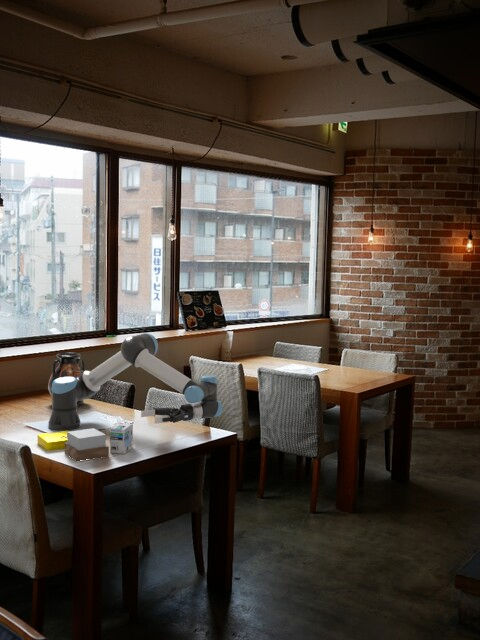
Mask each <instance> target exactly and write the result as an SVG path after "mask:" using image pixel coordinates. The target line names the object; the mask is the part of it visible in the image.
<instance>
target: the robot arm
mask: <svg viewBox="0 0 480 640" xmlns="http://www.w3.org/2000/svg"><path fill="white" fill-rule="evenodd" d="M158 350H159V342H158V340H157V338H156V337H155V335H153V334H152V333H148V332H147V333H145V332H144V333H140V334H136V335H131V336H127V337H126V338H124V340H123V341H122V343H121V345H120V350H119V351H118V352H116V353H115V354H114V355H112V356H111V357H109V358H108V359H106V360H105V361H104V362H102V363H100V364H99V365H97V366H96V367H95V368H93V369H92V370H84V373H82V374H81V375H79V376H78V377H76V378H74V377H61V378H57V379H55V380H54V381H53V383H52V396H51V414H50V417H49V419H48V422H47V423H48V426H47V427H48V428H49V429H51V430H55V431H70V430H75V429H78V428H80V427H81V420H80V419H81V418H80V416H79V414H78V413H79V412H78V410H77V409H78V406H77V402H78V401H81V400H83V401H84V400H87V399H90V398H92V397H94V396H95V395H96V394H97V393H98V392H99V391H100V389H101V386H102V385H104V384H105V383H106V382H108V381H110V379H113V378H114V377H116V376H117V375H118V374H120V373H121V372H123V371H124V370H126V369H127V368H129V367H130V366H134V367H135V368H141V369H143V370H144V371H146V372H147V373H149V374H151V375H152V376H154V377H155V378H157V379H159V380H160V381H162V382H163V383H164V384H166V385H168V386H169V387H170V388H172V389H174V390H175V391H178V392H179V393H180V394H182V395H183V396H184V398H185V400H186V402H188V403H183V404H182V405H180V407H179V408H177V407H176V408H175V407H154V408H152V409H147V410H141V411H140V415H141V416H140V417H141V418H146V417H154V424H155V425H156V424H164V423H169V422H170V423H172V424H173V423H174V424H175V423H179V422H181V421H184V422H189V421H197V420H200V419H208V418H209V419H210V418H217V417H219V416H221V415H222V413H223V406H222V405H223V403H222V402H221V401H220V400H218V377H217V376H216V375H209V374H208V375H206V374H205V375H202V376H201V378H200V382H199V383H197V382H196V381H194V380H193V379H191V378H189V377H188V376H186V375H185V374H184V373H182V372H180V371H178V370H177V369H175V368H173V367H172V366H171V365H169V364H167V362H164V361H163V360H161V359H159V358H157V357H156V356H155V355H156V354H157V353H158Z"/></svg>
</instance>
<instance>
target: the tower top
mask: <svg viewBox="0 0 480 640" xmlns="http://www.w3.org/2000/svg"><path fill="white" fill-rule="evenodd" d="M106 438H107V435H106V434H105V433H104V432H102V431H101V430H98V429H96V428H93V427H92V428H87V429H78V430H72V431H70V432H67V444H69V445H70V446H72V447H74V448H75V449H77V450H85V449H92V448H98V447H104V446H106V445H107V439H106Z"/></svg>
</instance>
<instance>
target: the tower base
mask: <svg viewBox="0 0 480 640" xmlns="http://www.w3.org/2000/svg"><path fill="white" fill-rule="evenodd" d="M109 453H110V445H107V444H106V446H104V447H98V448H92V449H85V450H77V449H75V448H74V447H72V446H70V445H69V444H67V443H65V449H64V454H65V455H66V454H67V455H66V456H67V457H69V456H70V457H71V459H72V458H73V459H74V460H73V459H72V460H73V461H75V460H76V461H80V460H86V459H93V458H100V459H102V458H101V457H107V458H109V457H110V455H109ZM70 457H69V458H70ZM93 460H94V459H93ZM76 461H75V462H76ZM80 462H81V461H80Z"/></svg>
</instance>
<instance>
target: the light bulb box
mask: <svg viewBox="0 0 480 640" xmlns="http://www.w3.org/2000/svg"><path fill="white" fill-rule="evenodd" d="M133 430H134V424H133V423H123V422H118V423H117V424H115V425H113V426H112V427H110V430H109V433H110V434H109V435H110V437H109V439H110V440H109V442H110V444H109V453H110V454H111V453H113V454H120V455H121V454H122V455H124V454H126V453H128V452H129V451H131V449H133V447H134V446H133V445H134V444H133V443H134V442H133V441H134V440H133V439H134V438H133V437H134V431H133Z"/></svg>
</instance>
